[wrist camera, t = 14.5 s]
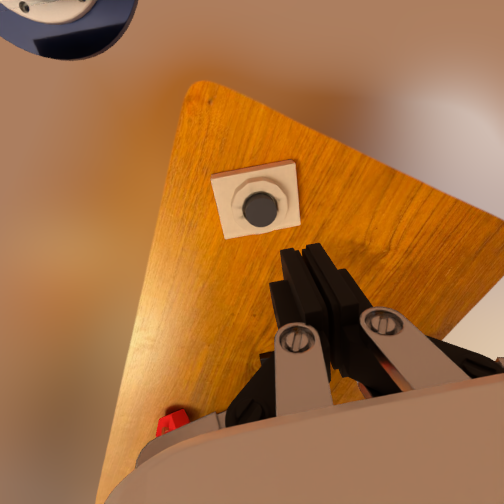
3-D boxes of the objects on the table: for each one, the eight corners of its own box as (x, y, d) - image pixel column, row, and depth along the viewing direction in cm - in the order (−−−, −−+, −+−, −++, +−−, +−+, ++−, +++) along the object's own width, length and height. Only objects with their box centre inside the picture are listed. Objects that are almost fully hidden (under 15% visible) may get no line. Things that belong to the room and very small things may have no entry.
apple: (200, 449, 55) (176, 449, 49) (170, 452, 56) (144, 452, 50) (202, 409, 59) (180, 404, 53) (174, 413, 61) (150, 408, 55)
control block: (224, 232, 38) (225, 246, 35) (211, 174, 34) (209, 183, 31) (296, 218, 38) (304, 231, 35) (291, 159, 34) (299, 166, 31)
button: (247, 224, 34) (248, 230, 33) (241, 196, 32) (242, 201, 31) (276, 218, 34) (278, 224, 33) (272, 190, 32) (275, 194, 31)
